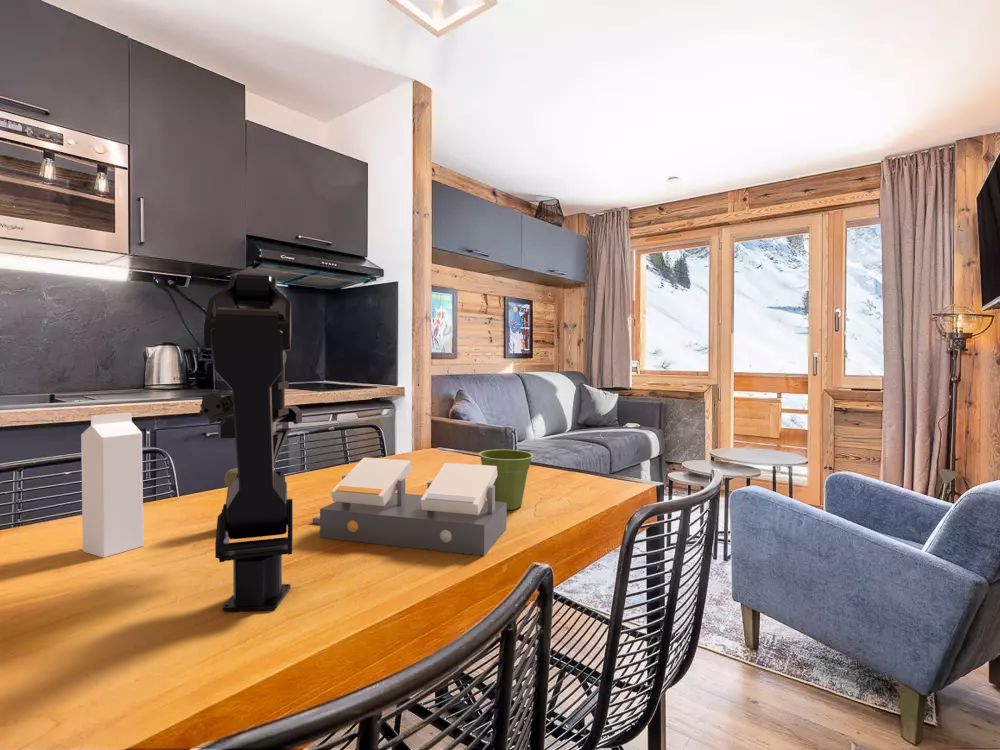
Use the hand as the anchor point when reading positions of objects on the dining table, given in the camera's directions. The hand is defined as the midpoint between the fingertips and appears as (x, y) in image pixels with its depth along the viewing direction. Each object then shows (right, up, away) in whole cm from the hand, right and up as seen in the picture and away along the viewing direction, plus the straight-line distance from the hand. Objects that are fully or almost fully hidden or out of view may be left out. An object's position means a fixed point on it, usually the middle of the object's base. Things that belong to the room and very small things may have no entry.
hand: (265, 476), depth 82 cm
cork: (-11, -13, +16) cm, 23 cm away
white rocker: (+30, -4, +11) cm, 32 cm away
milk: (-27, -13, +4) cm, 30 cm away
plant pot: (+38, -13, +32) cm, 51 cm away
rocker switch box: (+18, -13, +14) cm, 26 cm away
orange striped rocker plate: (+13, -4, +15) cm, 21 cm away
